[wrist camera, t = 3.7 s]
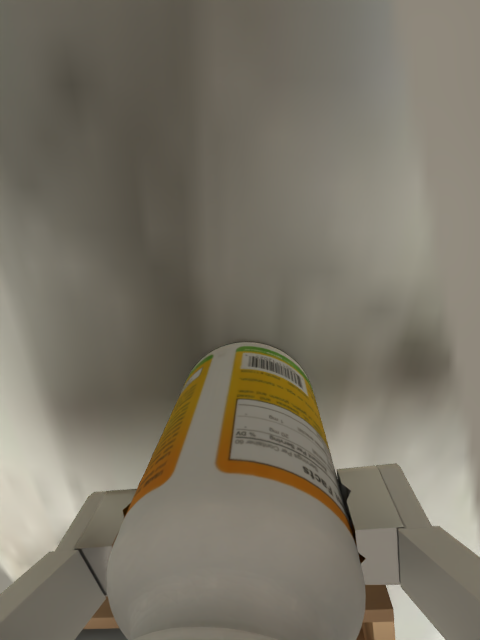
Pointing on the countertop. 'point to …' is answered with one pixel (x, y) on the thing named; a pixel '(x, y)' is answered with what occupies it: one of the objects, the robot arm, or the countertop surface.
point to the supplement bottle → (239, 515)
